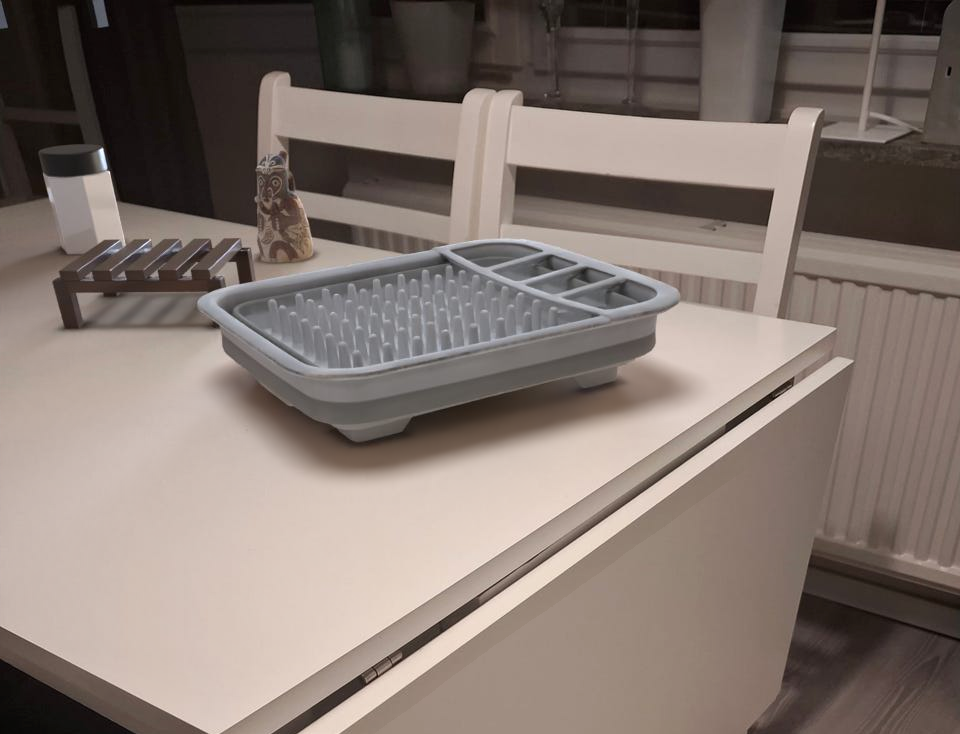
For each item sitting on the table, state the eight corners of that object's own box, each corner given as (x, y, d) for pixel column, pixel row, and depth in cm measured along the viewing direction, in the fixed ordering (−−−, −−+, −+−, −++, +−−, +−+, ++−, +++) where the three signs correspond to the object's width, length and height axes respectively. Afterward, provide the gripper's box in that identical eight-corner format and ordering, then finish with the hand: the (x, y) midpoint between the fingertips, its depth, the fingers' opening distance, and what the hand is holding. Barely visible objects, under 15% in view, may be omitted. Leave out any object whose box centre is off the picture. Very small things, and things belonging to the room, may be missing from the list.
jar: (135, 241, 141) (114, 143, 134) (116, 255, 135) (93, 153, 127) (73, 241, 142) (49, 144, 134) (51, 256, 135) (24, 154, 128)
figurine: (247, 260, 131) (231, 155, 124) (283, 248, 136) (270, 147, 128) (289, 266, 128) (276, 159, 121) (324, 254, 133) (313, 150, 125)
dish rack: (193, 368, 98) (176, 281, 93) (513, 306, 112) (513, 228, 107) (323, 483, 76) (309, 378, 71) (699, 388, 90) (709, 295, 85)
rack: (64, 330, 109) (49, 271, 105) (108, 294, 120) (95, 239, 116) (228, 329, 108) (218, 269, 104) (257, 293, 119) (249, 237, 115)
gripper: (114, -208, 112) (156, 24, 125) (-87, -197, 116) (-26, 27, 129) (82, -216, 106) (130, 28, 119) (-129, -204, 110) (-60, 31, 123)
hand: (49, 28), depth 124 cm, fingers open, 13 cm apart
